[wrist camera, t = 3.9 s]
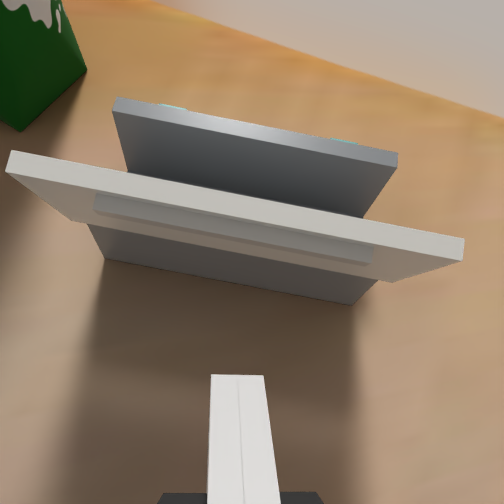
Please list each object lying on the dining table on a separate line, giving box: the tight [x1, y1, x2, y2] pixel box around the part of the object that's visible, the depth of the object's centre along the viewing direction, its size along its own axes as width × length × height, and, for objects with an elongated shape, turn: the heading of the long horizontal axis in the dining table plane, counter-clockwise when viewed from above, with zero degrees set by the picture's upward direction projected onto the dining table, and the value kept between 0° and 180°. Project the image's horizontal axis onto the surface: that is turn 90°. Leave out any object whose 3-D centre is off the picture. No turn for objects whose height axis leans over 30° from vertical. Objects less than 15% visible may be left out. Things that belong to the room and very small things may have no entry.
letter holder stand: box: [87, 97, 398, 306], centre depth 28 cm, size 16×8×7 cm, turn 80°
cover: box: [5, 150, 465, 283], centre depth 20 cm, size 16×7×1 cm
